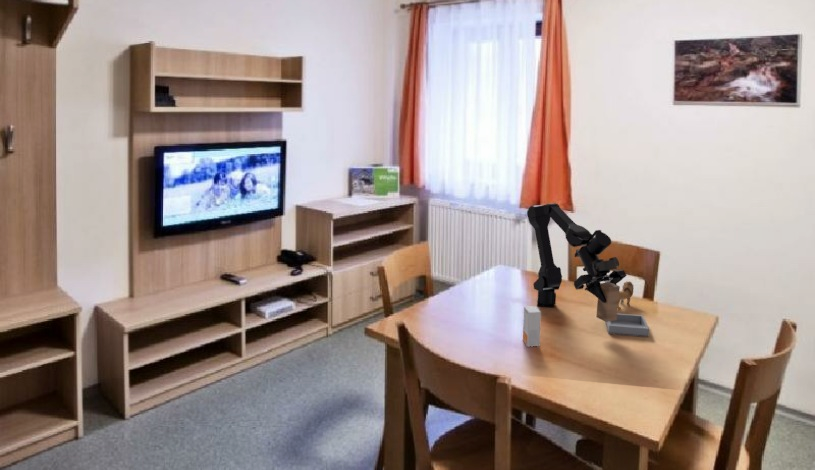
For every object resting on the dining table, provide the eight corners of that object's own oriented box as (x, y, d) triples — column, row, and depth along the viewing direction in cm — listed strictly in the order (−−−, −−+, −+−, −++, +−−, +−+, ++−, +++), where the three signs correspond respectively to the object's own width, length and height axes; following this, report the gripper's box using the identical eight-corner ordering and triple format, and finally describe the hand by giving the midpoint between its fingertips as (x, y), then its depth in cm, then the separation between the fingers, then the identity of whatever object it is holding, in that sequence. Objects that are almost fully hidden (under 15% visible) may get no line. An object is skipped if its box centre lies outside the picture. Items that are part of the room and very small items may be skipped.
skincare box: (522, 339, 207) (523, 306, 204) (534, 339, 207) (536, 305, 204) (527, 347, 201) (528, 312, 198) (539, 346, 201) (541, 312, 198)
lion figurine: (622, 300, 246) (624, 278, 244) (635, 303, 242) (637, 281, 240) (603, 309, 236) (605, 286, 234) (616, 312, 232) (618, 290, 230)
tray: (608, 333, 212) (609, 325, 211) (604, 320, 224) (605, 312, 224) (648, 337, 209) (649, 328, 209) (642, 323, 222) (643, 315, 221)
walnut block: (596, 317, 211) (599, 283, 208) (606, 315, 213) (609, 282, 210) (606, 322, 207) (609, 287, 204) (616, 320, 208) (619, 286, 206)
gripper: (581, 252, 204) (602, 294, 197) (625, 246, 212) (646, 286, 204) (565, 268, 213) (584, 309, 206) (607, 263, 220) (626, 301, 213)
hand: (610, 301), depth 207 cm, fingers closed on walnut block, 4 cm apart
